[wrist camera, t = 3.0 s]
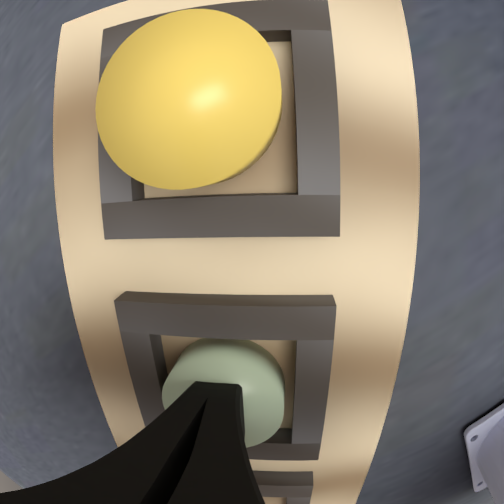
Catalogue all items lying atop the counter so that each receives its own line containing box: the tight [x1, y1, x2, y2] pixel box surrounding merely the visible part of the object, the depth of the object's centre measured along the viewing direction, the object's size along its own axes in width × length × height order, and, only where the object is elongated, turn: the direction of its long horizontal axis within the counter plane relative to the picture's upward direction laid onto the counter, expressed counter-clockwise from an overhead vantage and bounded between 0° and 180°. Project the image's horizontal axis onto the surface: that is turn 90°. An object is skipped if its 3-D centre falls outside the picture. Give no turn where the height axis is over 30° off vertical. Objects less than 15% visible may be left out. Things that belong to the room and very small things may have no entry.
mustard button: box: [95, 9, 282, 190], centre depth 6 cm, size 4×4×1 cm
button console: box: [53, 0, 420, 504], centre depth 11 cm, size 25×11×3 cm, turn 2°
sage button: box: [162, 338, 285, 448], centre depth 9 cm, size 4×4×1 cm
